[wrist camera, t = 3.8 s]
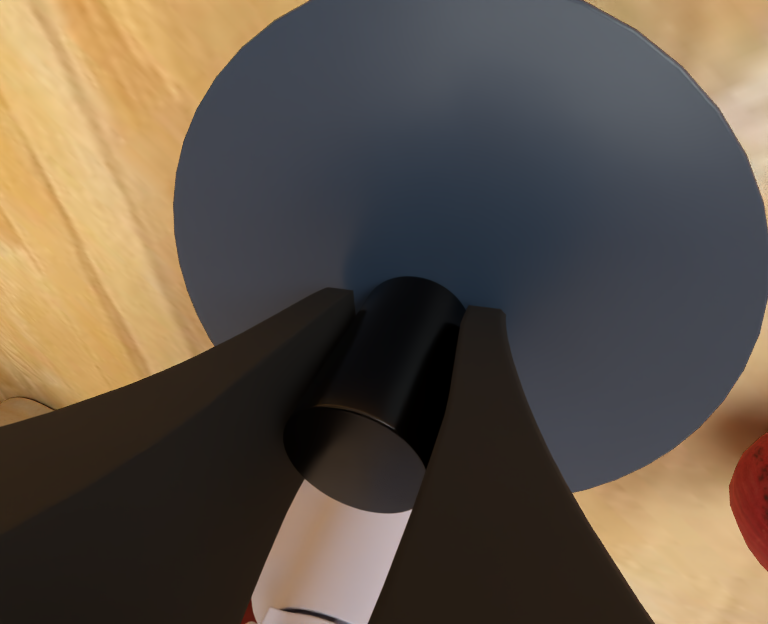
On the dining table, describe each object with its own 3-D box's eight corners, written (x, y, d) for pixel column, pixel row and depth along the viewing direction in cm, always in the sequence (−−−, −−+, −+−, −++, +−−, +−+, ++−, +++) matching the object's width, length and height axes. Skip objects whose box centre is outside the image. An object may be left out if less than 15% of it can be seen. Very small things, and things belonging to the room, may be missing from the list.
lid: (365, 487, 16) (303, 641, 12) (118, 187, 12) (-101, 276, 8) (808, 433, 9) (984, 729, 6) (617, -279, 5) (791, -1095, 1)
